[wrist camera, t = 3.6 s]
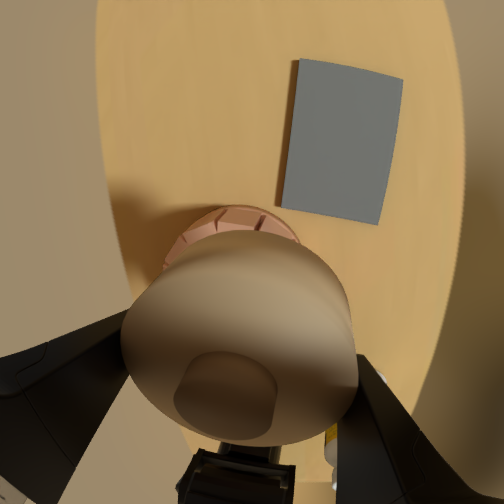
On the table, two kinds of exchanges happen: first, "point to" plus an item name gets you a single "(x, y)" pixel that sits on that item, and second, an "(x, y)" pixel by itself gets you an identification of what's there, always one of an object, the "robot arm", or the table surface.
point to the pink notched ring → (229, 226)
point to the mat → (341, 141)
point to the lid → (244, 341)
